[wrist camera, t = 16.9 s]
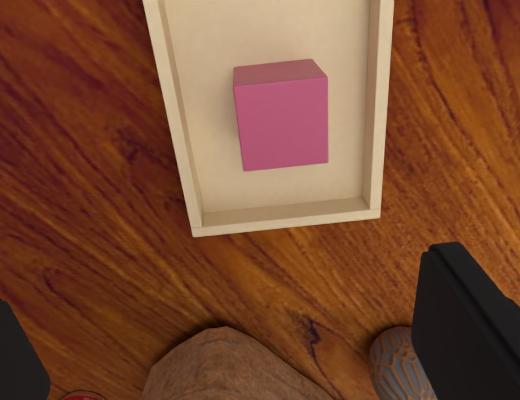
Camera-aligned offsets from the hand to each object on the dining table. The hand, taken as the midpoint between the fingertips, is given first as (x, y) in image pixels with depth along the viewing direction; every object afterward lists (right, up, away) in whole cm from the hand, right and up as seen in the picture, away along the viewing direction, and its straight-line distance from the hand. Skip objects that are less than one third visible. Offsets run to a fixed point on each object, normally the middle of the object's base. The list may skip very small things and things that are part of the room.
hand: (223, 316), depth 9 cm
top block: (+2, +9, +17) cm, 20 cm away
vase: (+14, -11, +30) cm, 35 cm away
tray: (+2, +10, +18) cm, 20 cm away
